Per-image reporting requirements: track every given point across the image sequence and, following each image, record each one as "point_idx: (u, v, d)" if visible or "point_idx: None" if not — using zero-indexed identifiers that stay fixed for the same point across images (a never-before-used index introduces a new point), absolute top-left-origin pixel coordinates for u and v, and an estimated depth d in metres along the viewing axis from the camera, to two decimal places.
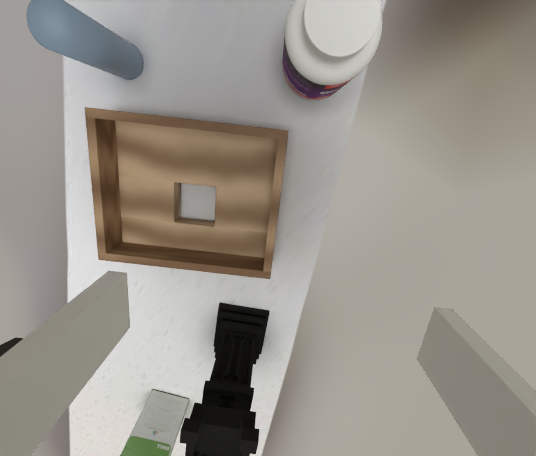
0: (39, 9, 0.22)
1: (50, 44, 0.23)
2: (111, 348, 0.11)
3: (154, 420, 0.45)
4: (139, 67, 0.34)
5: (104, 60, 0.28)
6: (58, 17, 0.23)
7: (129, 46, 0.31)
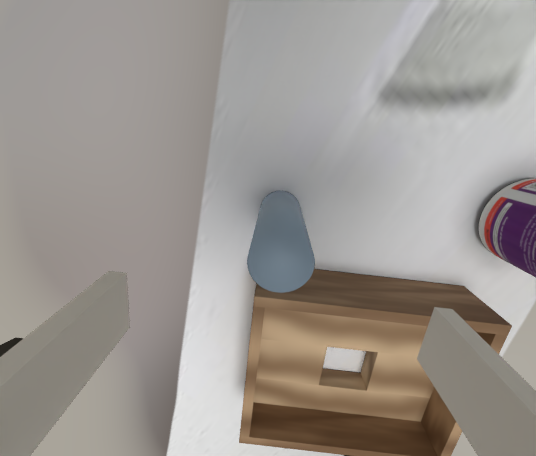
0: (267, 248, 0.16)
1: (273, 285, 0.17)
2: (111, 348, 0.11)
3: None
4: None
5: None
6: (291, 258, 0.16)
7: (300, 209, 0.25)
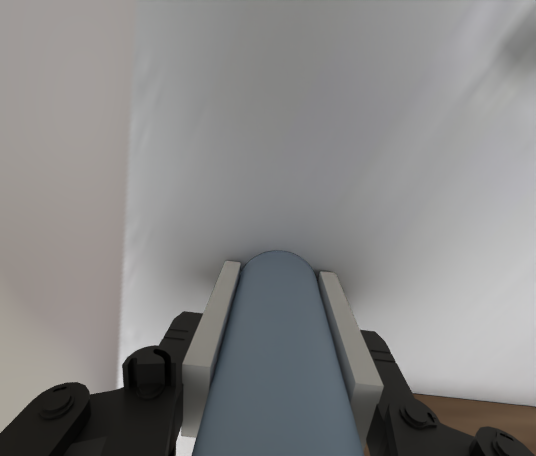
0: None
1: None
2: None
3: None
4: None
5: None
6: None
7: (321, 302, 0.11)
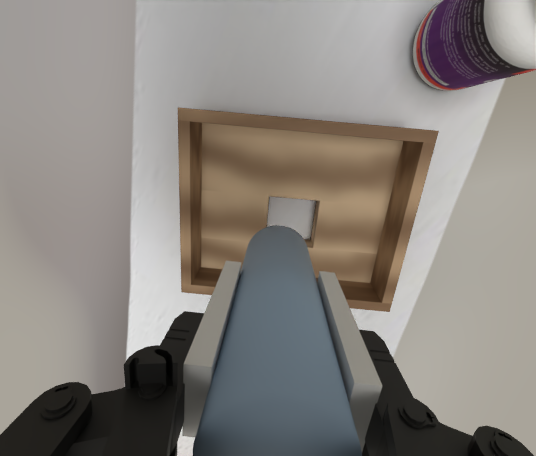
0: (242, 430, 0.06)
1: None
2: None
3: None
4: None
5: None
6: (303, 451, 0.06)
7: (310, 260, 0.15)
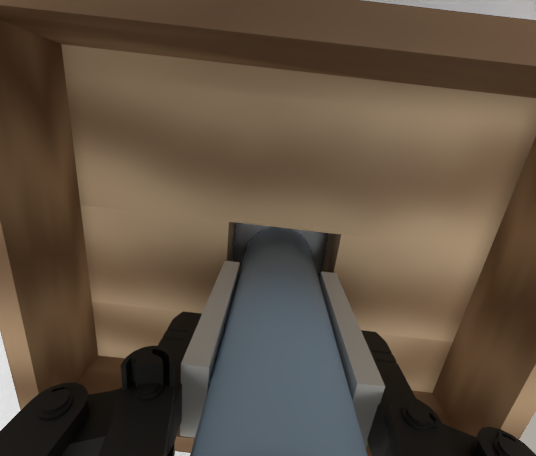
0: None
1: None
2: None
3: None
4: None
5: None
6: None
7: (314, 265, 0.14)
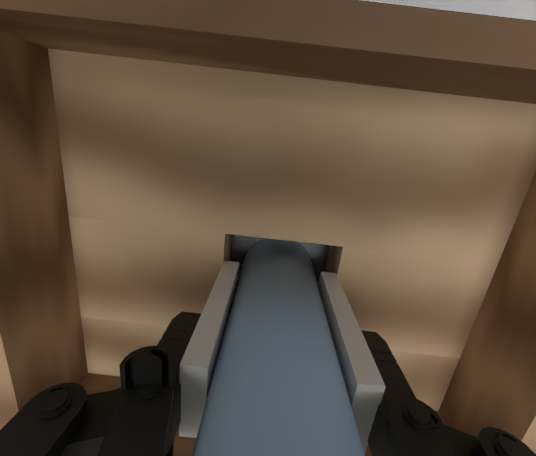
0: None
1: None
2: None
3: None
4: None
5: None
6: None
7: (315, 278, 0.13)
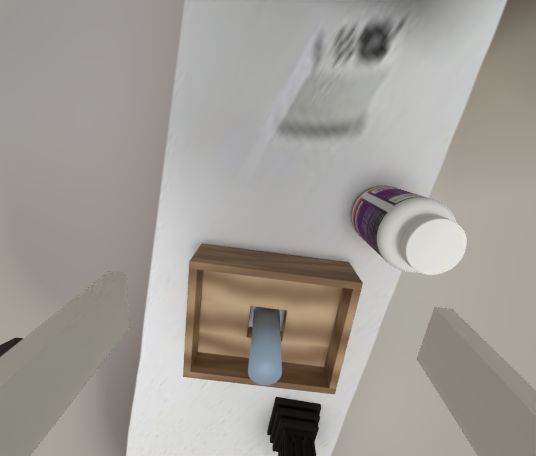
0: (258, 365, 0.32)
1: (261, 382, 0.33)
2: (111, 348, 0.11)
3: None
4: None
5: None
6: (270, 369, 0.32)
7: (278, 318, 0.41)
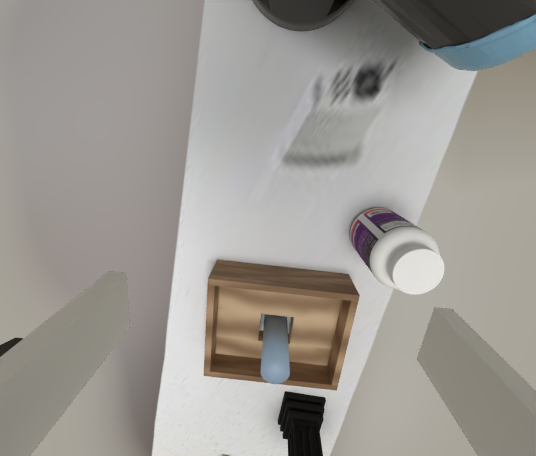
0: (269, 367, 0.38)
1: (272, 381, 0.38)
2: (111, 348, 0.11)
3: None
4: None
5: None
6: (279, 370, 0.38)
7: (286, 324, 0.47)
